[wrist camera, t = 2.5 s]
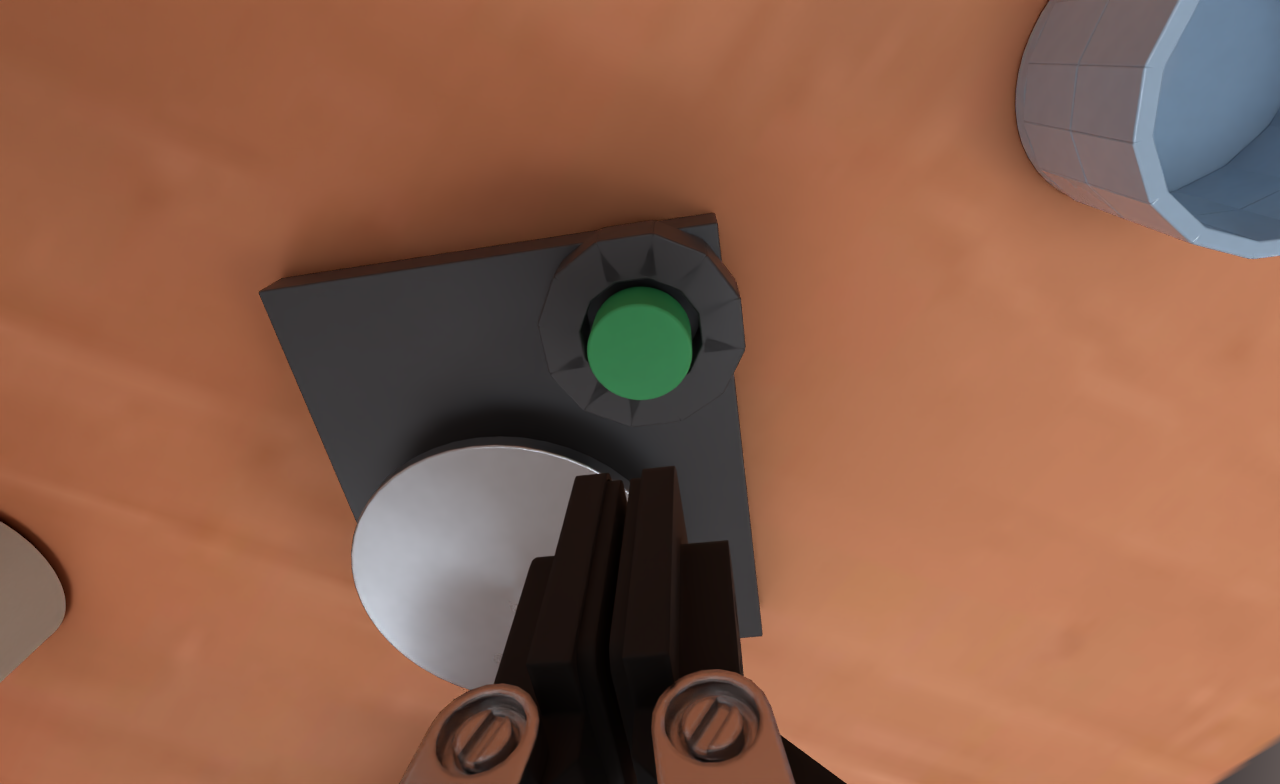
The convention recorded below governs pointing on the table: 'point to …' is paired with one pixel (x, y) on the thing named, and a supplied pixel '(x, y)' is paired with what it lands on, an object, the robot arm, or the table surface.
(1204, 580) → the table surface
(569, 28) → the table surface
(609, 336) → the tare button
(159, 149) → the table surface
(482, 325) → the scale
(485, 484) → the weighing pan
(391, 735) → the table surface
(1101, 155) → the cup
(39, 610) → the travel mug
